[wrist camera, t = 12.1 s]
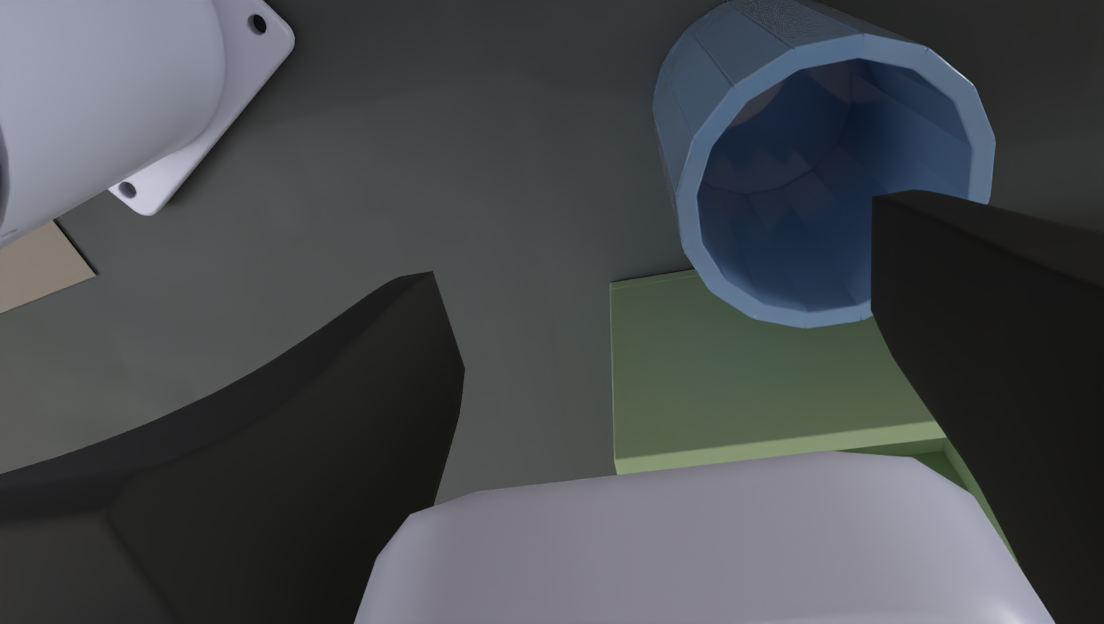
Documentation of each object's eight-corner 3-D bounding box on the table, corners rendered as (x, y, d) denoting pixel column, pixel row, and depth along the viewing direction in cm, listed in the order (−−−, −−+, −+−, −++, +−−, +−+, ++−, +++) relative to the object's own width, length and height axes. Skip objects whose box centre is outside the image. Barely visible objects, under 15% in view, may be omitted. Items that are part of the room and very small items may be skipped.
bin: (609, 282, 23) (613, 460, 15) (969, 224, 21) (1170, 393, 14) (648, 484, 27) (666, 699, 20) (950, 450, 25) (1094, 671, 18)
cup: (666, 214, 21) (694, 345, 15) (638, 18, 19) (659, 75, 12) (859, 180, 20) (980, 305, 14) (860, -30, 18) (1011, 2, 11)
